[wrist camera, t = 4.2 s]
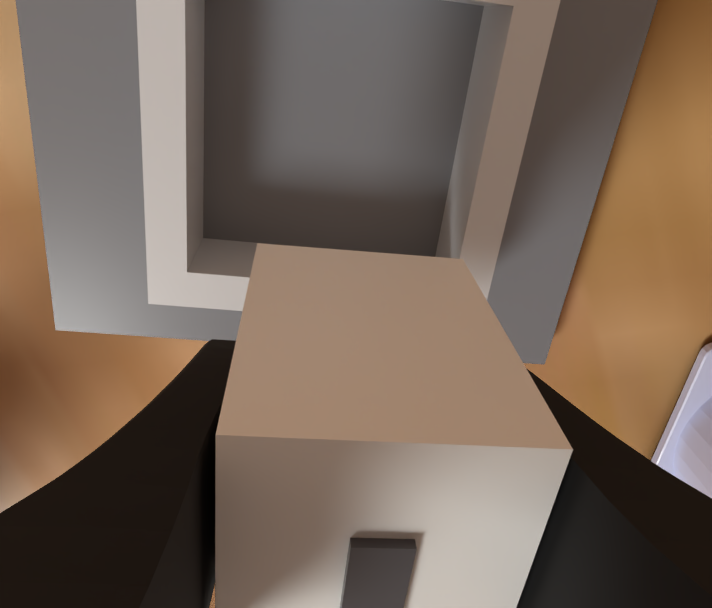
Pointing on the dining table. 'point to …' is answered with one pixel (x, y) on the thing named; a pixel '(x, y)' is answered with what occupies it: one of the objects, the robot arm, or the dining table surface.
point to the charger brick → (377, 440)
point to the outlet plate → (318, 146)
